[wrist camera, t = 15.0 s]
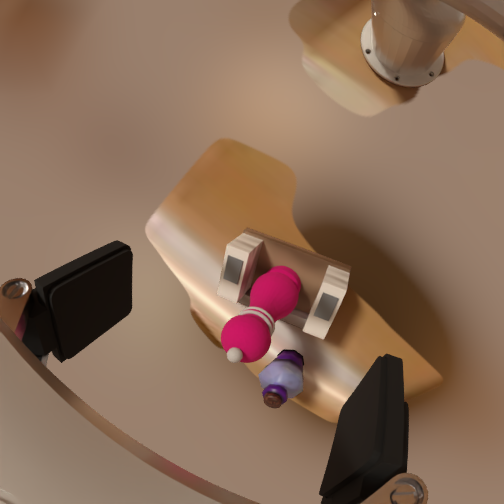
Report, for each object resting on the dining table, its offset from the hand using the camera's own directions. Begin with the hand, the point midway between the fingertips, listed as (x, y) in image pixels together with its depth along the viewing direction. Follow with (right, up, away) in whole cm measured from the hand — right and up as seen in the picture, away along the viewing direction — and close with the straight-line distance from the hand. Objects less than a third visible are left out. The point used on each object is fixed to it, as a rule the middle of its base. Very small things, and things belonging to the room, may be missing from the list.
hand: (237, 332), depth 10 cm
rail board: (+7, -2, +40) cm, 40 cm away
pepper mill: (+6, -2, +39) cm, 39 cm away
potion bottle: (+8, -18, +46) cm, 50 cm away
